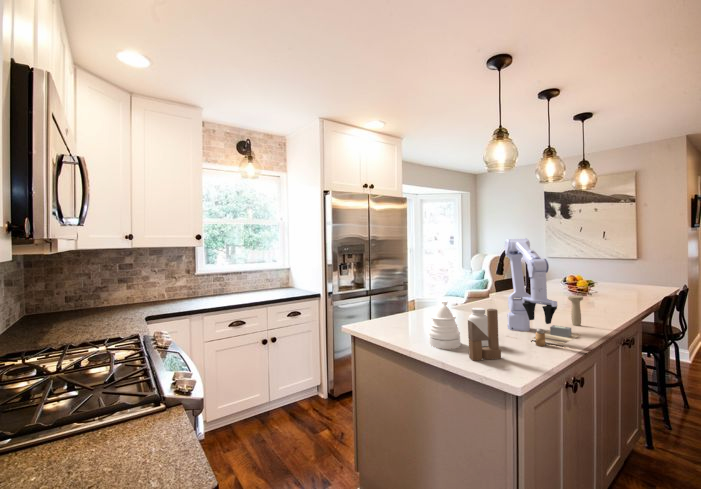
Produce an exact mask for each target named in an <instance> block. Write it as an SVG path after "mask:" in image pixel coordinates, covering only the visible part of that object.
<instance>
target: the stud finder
mask: <svg viewBox="0 0 701 489" xmlns="http://www.w3.org/2000/svg"><path fill="white" fill-rule="evenodd" d="M549 331H550V335H554V336H561V337H567V338H569V337H571V336H572V333H573V332H572V327H568V326H563V325H554V324H553V325H551V326H550V327H549Z"/></svg>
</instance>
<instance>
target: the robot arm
mask: <svg viewBox="0 0 701 489" xmlns="http://www.w3.org/2000/svg"><path fill="white" fill-rule="evenodd" d="M530 246H531V242H530V240H529V239H528V238H526V237H525V238H506V239H505V241H504V251H505V252H504V253H505V257H507V258H508V259H509V261H510V262H509V263H510V270H511V278H512V279H511V280H512V288H513V292H511V293H510V294H509V295H508V297H507V307H508V309H509V310H508V311H510V312H507V330H509V331H521V332H529V331H530V330H531V324H530V323H531V322H530V321H534V320H535V312H536V305H542V309H543V312H544V322H545V324H546V325H550V324H552V320H553V317H554V313H555V312H556V310H558V301H557V300H552V299H548V292H547V287H548V286H547V274H548V272H549V268H550V264H549V261H548V260H547V258H541V256H539V254H538V253H537V252H536V251H535V250H534V249H531V247H530ZM522 260H523V261H524V262H525V263H526V268H527V272H528V278H529V280H530V294H529V293H528V292H526V288H525V281H524V280H525V279H524V273H523V265H522Z"/></svg>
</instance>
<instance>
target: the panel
mask: <svg viewBox="0 0 701 489" xmlns="http://www.w3.org/2000/svg"><path fill="white" fill-rule="evenodd" d="M544 333H545V345H549V346H550V345H551V346H554V347H555V346H556V347H561V348H565V347H566V346H565V344H566V343H569V342H571V341H573V340H574V339H576V338H578V337H580V336H581V334H580V333H579V334H578V333H573V332H571V333H572V336H571V337H569V338H567V337H561V336H554V335H550V330H548V331H546V332H544ZM531 342H535V343H536V336H533V337H532V339H531Z"/></svg>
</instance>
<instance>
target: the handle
mask: <svg viewBox="0 0 701 489" xmlns="http://www.w3.org/2000/svg"><path fill="white" fill-rule="evenodd" d="M567 298H568V300H569V301H570V302H571V324H572V326H575V327H581V326H582V310H581V301H583V300H584V297H583V296H581V295H570V296H569V295H568V297H567Z"/></svg>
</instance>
